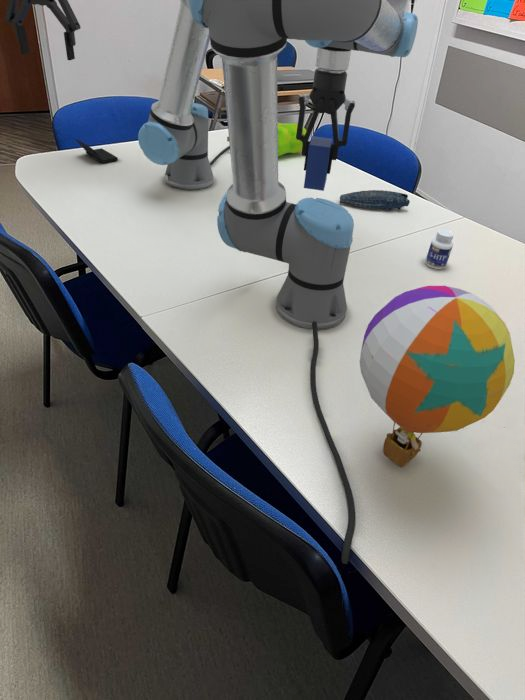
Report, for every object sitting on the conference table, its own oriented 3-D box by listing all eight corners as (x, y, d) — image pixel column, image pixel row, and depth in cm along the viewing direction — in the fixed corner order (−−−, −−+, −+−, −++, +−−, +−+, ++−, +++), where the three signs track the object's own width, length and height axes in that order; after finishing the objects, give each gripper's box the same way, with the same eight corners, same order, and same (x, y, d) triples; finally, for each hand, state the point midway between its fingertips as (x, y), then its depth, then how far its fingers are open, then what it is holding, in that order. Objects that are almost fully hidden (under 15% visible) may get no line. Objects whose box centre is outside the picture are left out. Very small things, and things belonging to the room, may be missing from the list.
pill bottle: (423, 266, 132) (433, 234, 126) (426, 257, 136) (435, 226, 130) (444, 271, 131) (455, 239, 125) (446, 262, 135) (457, 230, 129)
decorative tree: (224, 117, 189) (303, 117, 195) (224, 146, 196) (301, 145, 201) (231, 131, 176) (316, 130, 181) (230, 162, 182) (313, 160, 188)
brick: (326, 180, 138) (332, 138, 132) (323, 191, 133) (330, 147, 126) (307, 178, 139) (312, 136, 132) (303, 188, 133) (309, 144, 126)
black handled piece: (122, 153, 174) (102, 132, 166) (111, 171, 173) (90, 150, 165) (101, 149, 181) (81, 128, 172) (90, 166, 179) (69, 146, 171)
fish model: (408, 214, 157) (412, 198, 153) (339, 207, 158) (341, 191, 154) (406, 206, 162) (410, 190, 159) (339, 199, 163) (341, 183, 160)
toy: (310, 447, 82) (343, 285, 63) (387, 396, 93) (435, 245, 74) (411, 535, 71) (486, 371, 52) (485, 466, 82) (569, 309, 63)
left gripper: (86, -36, 131) (96, 59, 144) (-5, -45, 134) (14, 48, 147) (71, -35, 125) (84, 64, 139) (-23, -45, 128) (-2, 53, 141)
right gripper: (371, 71, 121) (353, 170, 135) (294, 62, 123) (284, 160, 137) (370, 77, 115) (351, 180, 130) (289, 67, 117) (280, 170, 131)
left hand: (48, 56), depth 143 cm, fingers open, 13 cm apart
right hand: (317, 170), depth 133 cm, fingers closed on brick, 5 cm apart
